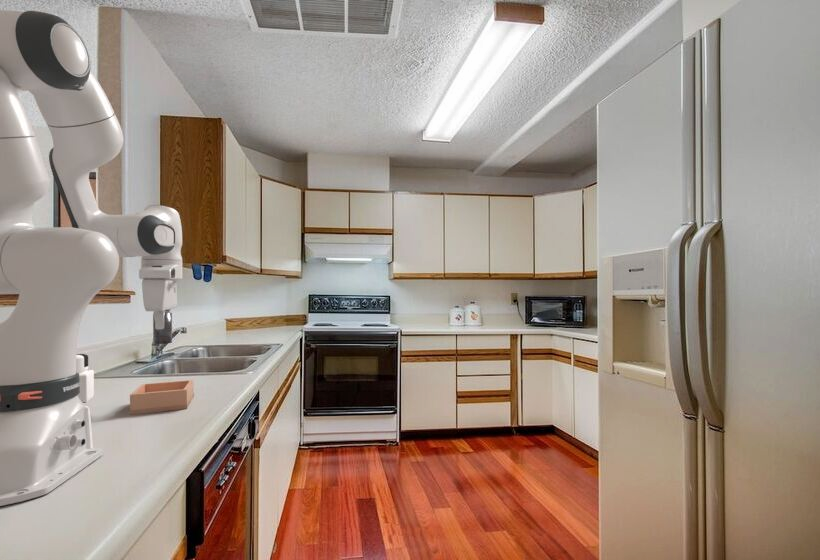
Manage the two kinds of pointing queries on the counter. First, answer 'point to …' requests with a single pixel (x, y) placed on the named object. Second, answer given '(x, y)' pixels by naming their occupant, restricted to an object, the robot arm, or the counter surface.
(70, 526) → the counter surface
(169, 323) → the battery cell
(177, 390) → the tray
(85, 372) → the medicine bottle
